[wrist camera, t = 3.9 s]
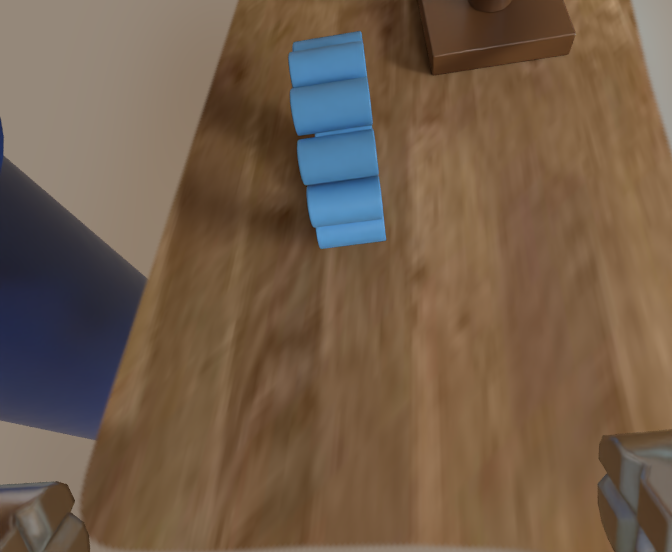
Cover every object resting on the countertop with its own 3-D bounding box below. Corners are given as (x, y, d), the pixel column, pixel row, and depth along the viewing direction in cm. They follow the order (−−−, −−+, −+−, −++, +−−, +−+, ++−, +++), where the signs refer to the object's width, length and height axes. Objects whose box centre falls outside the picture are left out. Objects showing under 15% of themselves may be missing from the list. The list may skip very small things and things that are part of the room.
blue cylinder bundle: (389, 272, 26) (378, 161, 18) (330, 279, 26) (292, 173, 18) (371, 130, 30) (355, -16, 21) (321, 137, 30) (285, -3, 22)
